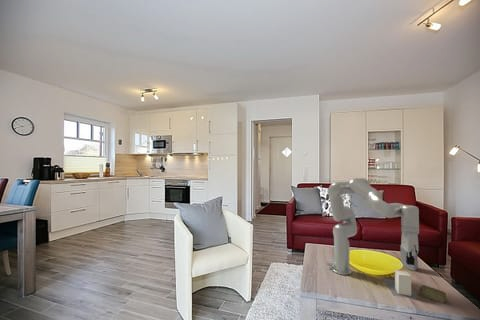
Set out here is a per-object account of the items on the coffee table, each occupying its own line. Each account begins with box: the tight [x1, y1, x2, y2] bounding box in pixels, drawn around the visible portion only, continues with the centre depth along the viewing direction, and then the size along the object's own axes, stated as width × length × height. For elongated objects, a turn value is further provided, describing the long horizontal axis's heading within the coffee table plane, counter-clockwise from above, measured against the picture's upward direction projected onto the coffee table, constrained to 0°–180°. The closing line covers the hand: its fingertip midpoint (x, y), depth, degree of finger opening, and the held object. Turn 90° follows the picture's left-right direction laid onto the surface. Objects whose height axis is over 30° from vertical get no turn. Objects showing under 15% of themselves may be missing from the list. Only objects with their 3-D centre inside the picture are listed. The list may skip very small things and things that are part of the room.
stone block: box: [418, 284, 448, 304], centre depth 127 cm, size 6×12×5 cm, turn 41°
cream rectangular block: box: [394, 269, 412, 296], centre depth 132 cm, size 6×6×11 cm
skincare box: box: [400, 244, 419, 272], centre depth 164 cm, size 8×7×16 cm
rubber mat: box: [382, 278, 419, 300], centre depth 136 cm, size 12×20×1 cm, turn 163°
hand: (410, 264), depth 123 cm, fingers closed
